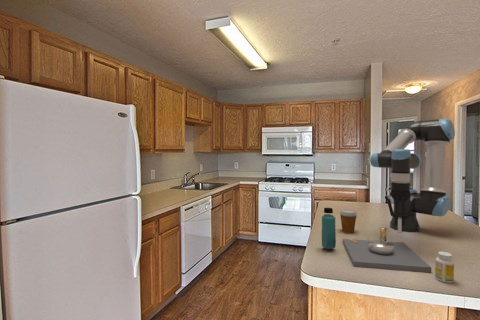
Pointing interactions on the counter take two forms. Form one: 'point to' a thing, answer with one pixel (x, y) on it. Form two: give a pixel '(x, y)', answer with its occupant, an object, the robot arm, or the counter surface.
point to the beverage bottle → (328, 229)
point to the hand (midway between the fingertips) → (399, 232)
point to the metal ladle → (381, 244)
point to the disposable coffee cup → (348, 220)
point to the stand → (384, 257)
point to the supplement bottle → (444, 267)
